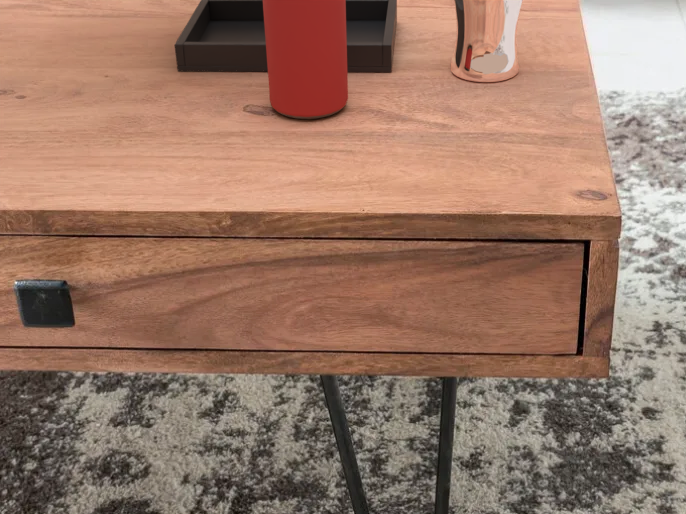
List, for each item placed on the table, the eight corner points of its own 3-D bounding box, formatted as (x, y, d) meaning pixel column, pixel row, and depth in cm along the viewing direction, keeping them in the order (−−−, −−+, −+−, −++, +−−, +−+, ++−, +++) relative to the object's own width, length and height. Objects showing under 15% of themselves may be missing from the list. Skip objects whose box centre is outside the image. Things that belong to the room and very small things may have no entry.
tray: (177, 71, 96) (174, 44, 95) (204, 22, 107) (201, -3, 106) (391, 72, 95) (391, 45, 93) (396, 22, 106) (396, -3, 104)
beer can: (302, 86, 93) (294, -57, 85) (363, 101, 89) (361, -45, 82) (254, 111, 88) (242, -37, 81) (316, 128, 85) (310, -24, 78)
